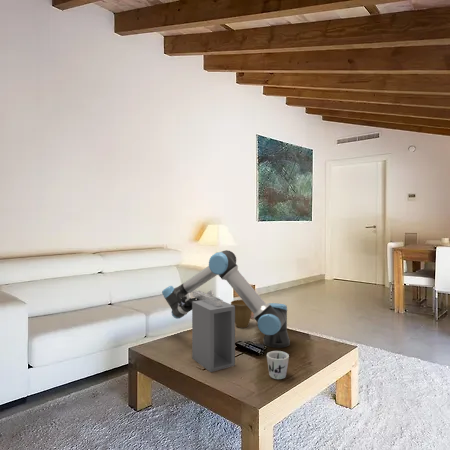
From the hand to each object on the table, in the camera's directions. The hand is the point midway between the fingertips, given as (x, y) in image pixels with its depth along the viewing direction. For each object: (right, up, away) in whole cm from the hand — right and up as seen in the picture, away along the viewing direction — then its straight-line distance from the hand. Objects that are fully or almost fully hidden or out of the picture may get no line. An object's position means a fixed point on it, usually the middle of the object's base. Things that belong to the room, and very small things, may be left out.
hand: (201, 293), depth 201 cm
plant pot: (+24, -31, +49) cm, 62 cm away
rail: (+3, -3, -5) cm, 7 cm away
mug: (+38, -34, -22) cm, 56 cm away
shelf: (+7, -33, -9) cm, 35 cm away
